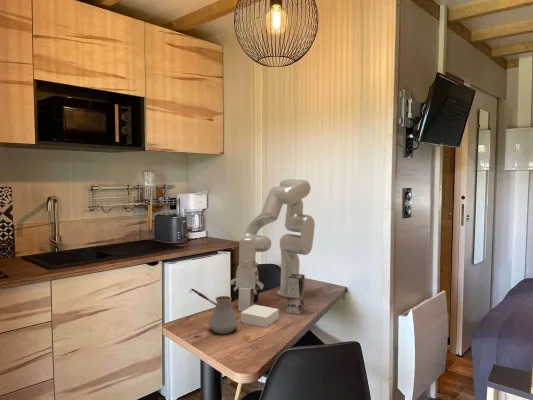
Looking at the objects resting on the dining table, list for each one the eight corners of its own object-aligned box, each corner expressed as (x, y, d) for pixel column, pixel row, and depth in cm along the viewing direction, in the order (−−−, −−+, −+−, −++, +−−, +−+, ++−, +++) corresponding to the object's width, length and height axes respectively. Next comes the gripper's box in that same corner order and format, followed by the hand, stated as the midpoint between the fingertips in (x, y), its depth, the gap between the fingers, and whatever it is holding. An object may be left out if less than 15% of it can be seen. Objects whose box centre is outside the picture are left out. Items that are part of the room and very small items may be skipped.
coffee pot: (242, 327, 162) (243, 291, 161) (229, 337, 152) (229, 299, 151) (197, 319, 170) (197, 284, 169) (181, 328, 160) (182, 291, 159)
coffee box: (300, 314, 179) (301, 279, 178) (286, 312, 180) (287, 277, 179) (304, 308, 188) (305, 274, 186) (290, 306, 189) (291, 273, 188)
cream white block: (254, 314, 179) (254, 304, 178) (278, 319, 173) (278, 309, 173) (240, 322, 168) (240, 312, 168) (265, 328, 163) (266, 317, 162)
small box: (250, 312, 180) (250, 289, 180) (238, 311, 181) (238, 288, 181) (254, 306, 188) (254, 284, 188) (242, 305, 189) (243, 283, 189)
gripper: (267, 264, 183) (266, 301, 184) (234, 260, 191) (234, 295, 192) (260, 267, 176) (259, 305, 177) (226, 263, 184) (226, 299, 185)
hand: (246, 300), depth 185 cm, fingers open, 9 cm apart
